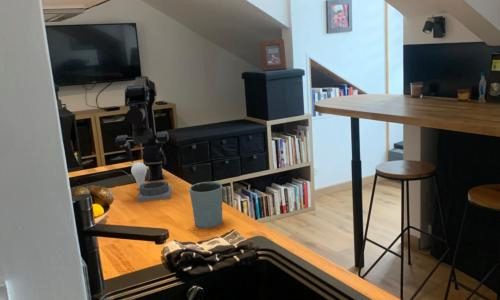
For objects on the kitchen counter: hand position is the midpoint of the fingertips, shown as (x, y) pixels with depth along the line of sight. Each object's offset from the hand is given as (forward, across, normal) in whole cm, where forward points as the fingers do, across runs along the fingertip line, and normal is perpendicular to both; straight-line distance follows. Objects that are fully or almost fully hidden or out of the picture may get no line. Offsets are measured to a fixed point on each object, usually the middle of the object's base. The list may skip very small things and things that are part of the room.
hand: (145, 161), depth 176 cm
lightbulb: (+14, -4, +11) cm, 18 cm away
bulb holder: (+14, +2, 0) cm, 14 cm away
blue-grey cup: (+13, +21, -36) cm, 43 cm away
